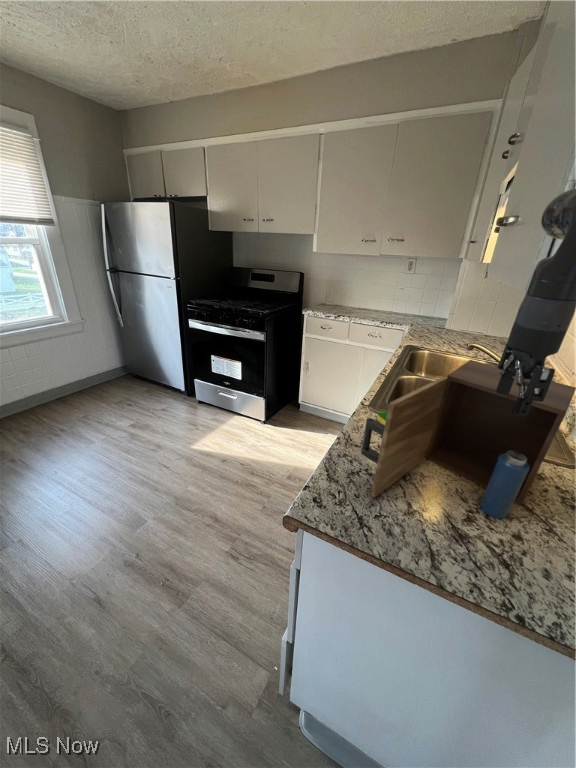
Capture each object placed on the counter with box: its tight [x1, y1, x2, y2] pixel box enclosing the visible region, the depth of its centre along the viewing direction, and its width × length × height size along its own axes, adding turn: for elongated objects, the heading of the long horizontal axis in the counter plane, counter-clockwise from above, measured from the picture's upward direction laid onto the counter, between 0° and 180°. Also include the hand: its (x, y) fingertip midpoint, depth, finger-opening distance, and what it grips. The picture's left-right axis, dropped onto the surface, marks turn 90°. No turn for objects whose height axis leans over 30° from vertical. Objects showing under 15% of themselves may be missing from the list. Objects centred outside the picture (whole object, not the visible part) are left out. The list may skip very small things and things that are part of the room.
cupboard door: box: [360, 375, 448, 498], centre depth 73 cm, size 7×22×24 cm, turn 130°
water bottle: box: [479, 450, 530, 520], centre depth 65 cm, size 5×5×14 cm
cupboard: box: [425, 359, 576, 506], centre depth 76 cm, size 16×22×24 cm
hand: (509, 403), depth 61 cm, fingers open, 8 cm apart
